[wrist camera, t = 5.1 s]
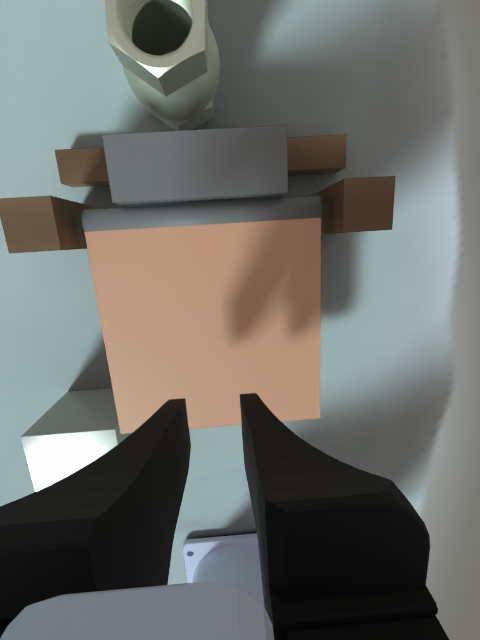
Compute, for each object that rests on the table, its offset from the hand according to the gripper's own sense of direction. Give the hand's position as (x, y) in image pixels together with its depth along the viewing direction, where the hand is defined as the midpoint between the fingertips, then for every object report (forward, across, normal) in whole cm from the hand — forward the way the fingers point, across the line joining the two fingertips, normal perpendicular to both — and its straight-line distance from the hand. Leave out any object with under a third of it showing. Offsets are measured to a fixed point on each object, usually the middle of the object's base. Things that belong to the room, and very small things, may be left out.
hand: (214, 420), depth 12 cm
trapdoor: (+5, 0, -4) cm, 6 cm away
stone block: (+9, +8, +5) cm, 13 cm away
